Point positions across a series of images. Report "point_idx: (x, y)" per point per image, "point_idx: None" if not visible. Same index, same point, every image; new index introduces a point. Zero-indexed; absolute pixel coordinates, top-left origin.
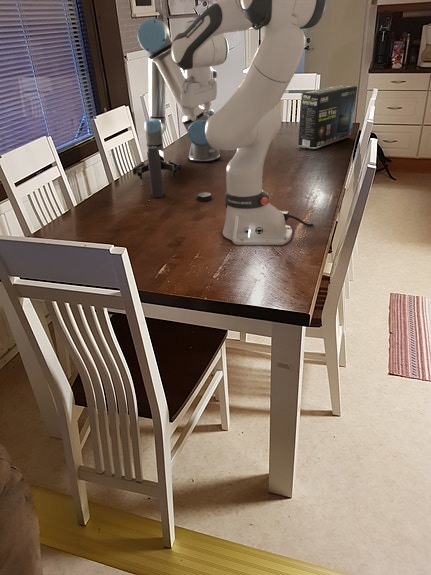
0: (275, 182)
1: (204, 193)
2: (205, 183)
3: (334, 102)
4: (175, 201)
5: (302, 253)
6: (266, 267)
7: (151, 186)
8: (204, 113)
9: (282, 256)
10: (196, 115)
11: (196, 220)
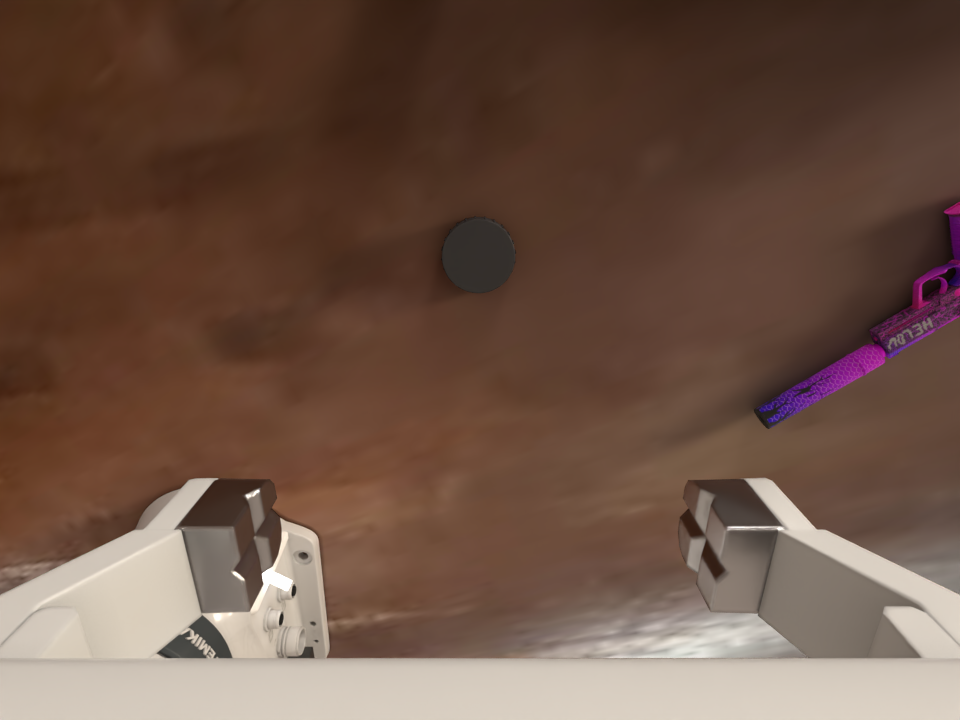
0: (806, 477)
1: (494, 251)
2: (727, 131)
3: None
4: (382, 113)
5: None
6: None
7: None
8: (696, 512)
9: None
10: (228, 604)
11: (220, 346)
